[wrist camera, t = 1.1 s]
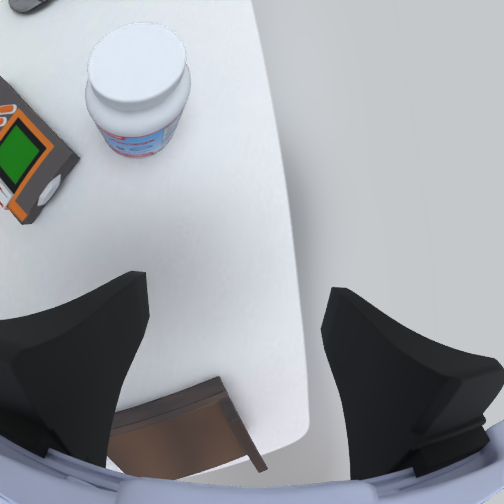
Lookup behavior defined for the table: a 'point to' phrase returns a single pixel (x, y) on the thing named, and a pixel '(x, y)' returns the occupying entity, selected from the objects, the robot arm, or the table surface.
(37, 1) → the seashell
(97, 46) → the pill bottle
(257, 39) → the table surface
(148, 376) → the table surface
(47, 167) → the electronic device
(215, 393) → the shelf
